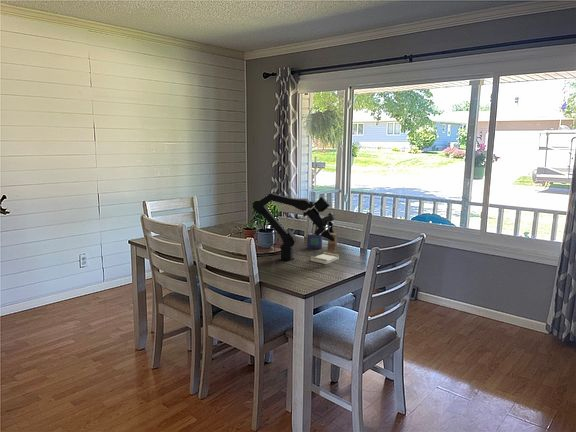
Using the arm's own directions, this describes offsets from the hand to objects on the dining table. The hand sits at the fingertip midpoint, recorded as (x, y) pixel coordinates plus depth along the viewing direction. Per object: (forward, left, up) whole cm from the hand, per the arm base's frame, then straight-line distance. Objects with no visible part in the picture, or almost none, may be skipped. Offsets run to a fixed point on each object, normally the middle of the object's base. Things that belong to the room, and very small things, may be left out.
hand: (335, 239), depth 231 cm
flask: (+19, +27, -13) cm, 36 cm away
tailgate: (+2, +8, -13) cm, 15 cm away
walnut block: (0, +1, -7) cm, 7 cm away
